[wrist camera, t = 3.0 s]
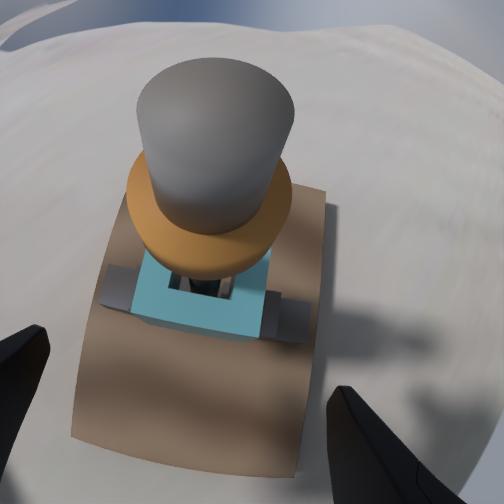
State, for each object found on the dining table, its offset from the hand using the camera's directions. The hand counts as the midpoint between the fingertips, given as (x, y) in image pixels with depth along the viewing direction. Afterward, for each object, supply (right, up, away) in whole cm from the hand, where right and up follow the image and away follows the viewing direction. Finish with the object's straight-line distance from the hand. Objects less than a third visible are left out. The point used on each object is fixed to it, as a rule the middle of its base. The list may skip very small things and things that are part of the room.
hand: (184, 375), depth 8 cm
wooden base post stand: (-1, 0, +11) cm, 11 cm away
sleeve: (0, +2, +4) cm, 5 cm away
